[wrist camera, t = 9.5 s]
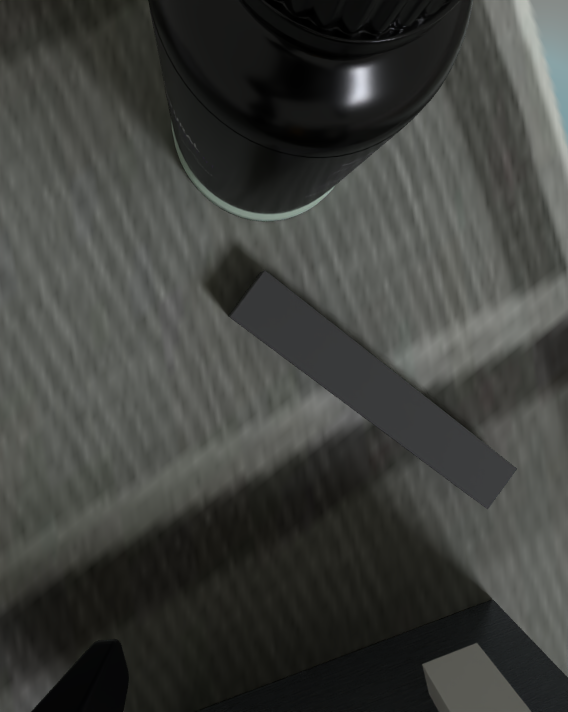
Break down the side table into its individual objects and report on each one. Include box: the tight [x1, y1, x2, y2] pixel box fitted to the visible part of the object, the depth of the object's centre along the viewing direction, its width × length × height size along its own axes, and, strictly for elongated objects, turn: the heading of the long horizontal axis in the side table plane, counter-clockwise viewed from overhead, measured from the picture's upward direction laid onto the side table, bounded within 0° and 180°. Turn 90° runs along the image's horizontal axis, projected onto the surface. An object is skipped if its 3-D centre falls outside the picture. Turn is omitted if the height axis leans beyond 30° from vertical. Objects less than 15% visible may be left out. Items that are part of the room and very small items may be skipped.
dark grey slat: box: [229, 270, 517, 509], centre depth 19 cm, size 14×2×2 cm, turn 53°
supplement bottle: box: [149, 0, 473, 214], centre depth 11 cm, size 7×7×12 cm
